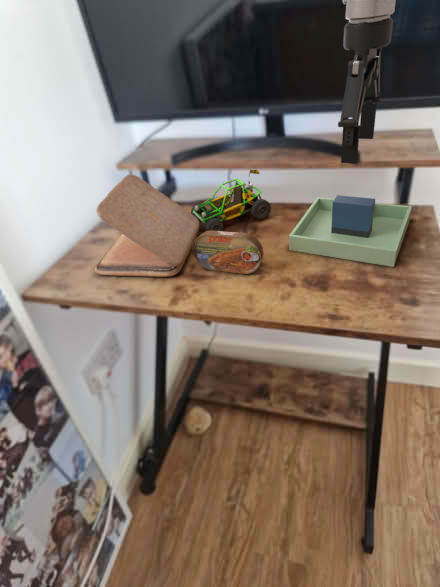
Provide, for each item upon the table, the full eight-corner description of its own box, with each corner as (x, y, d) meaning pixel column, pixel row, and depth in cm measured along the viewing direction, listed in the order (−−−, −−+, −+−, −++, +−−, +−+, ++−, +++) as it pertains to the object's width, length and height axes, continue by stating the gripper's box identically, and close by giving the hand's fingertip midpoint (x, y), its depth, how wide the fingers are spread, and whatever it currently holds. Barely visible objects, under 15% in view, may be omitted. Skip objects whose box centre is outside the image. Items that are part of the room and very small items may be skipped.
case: (180, 279, 84) (164, 209, 74) (90, 277, 89) (64, 211, 79) (204, 230, 99) (193, 167, 90) (127, 231, 105) (109, 171, 95)
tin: (194, 268, 87) (188, 234, 82) (200, 260, 89) (194, 226, 84) (261, 276, 81) (259, 240, 76) (266, 268, 83) (264, 232, 78)
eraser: (371, 230, 89) (375, 198, 84) (368, 238, 86) (371, 206, 82) (335, 225, 92) (337, 195, 88) (331, 233, 90) (332, 202, 85)
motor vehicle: (191, 220, 105) (184, 182, 98) (256, 199, 110) (253, 161, 103) (208, 238, 96) (202, 197, 90) (278, 215, 101) (277, 174, 95)
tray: (409, 220, 91) (412, 206, 89) (393, 267, 78) (396, 251, 76) (316, 210, 101) (317, 196, 98) (289, 250, 88) (288, 235, 86)
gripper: (362, 12, 75) (354, 129, 88) (322, 32, 59) (319, 173, 72) (406, 7, 72) (390, 130, 85) (376, 28, 56) (362, 176, 68)
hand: (357, 150), depth 78 cm, fingers open, 13 cm apart
